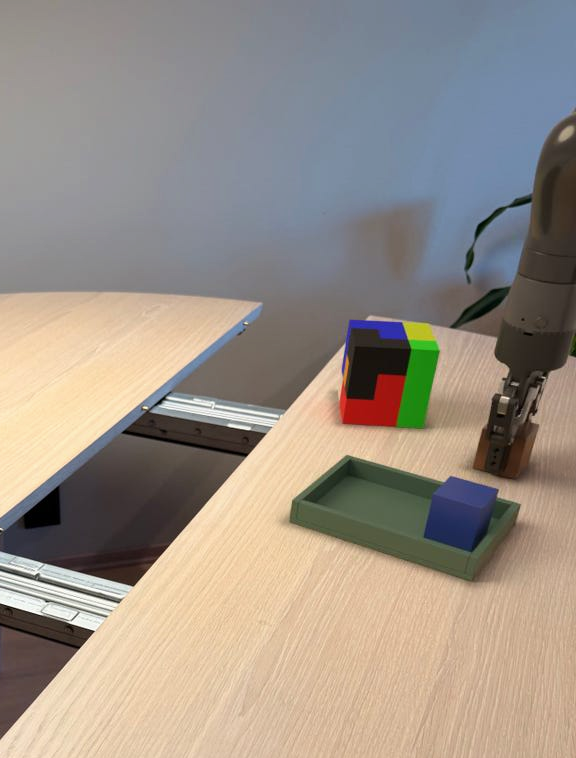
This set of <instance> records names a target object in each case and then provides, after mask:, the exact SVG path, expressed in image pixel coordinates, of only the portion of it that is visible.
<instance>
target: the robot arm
mask: <svg viewBox="0 0 576 758" xmlns="http://www.w3.org/2000/svg"><path fill="white" fill-rule="evenodd" d="M530 204H531V205H530V216H529V224H528V228H527V232H526V235H525V238H524V241H523V245H522V249H521V253H520V256H519V261H518V265H517V268H516V269H517V270H516V272H515V276H514V278H513V281H512V284H511V286H510V288H509V291H508V294H507V295H508V296H507V298H506V302H505V307H504V310H503V314H502V318H501V321H500V326H499V331H498V334H497V338H496V343H495V348H494V350H493V355H494V357H495V359H496V361H498V362H499V363H501V364H504V365H505V366H506V367H507V368H508V372H507V374H506V377H505V376H503V377H502V378H501V380H500V382H499V385H498V388H497V393H496V392H495V393H494V394H493V396H492V397H491V404H490V409H489V415H488V418H487V419H488V420H487V423H488V424H487V423H486V424H487V430H486V434H485V441H490V445H489V449H488V452H487V456H486V460H485V464H484V470H485V471H484V472H486V471H487V473H491V474H493V475H497V476H501V475H500V474H502V473H503V472H504V470H505V467H506V463H507V460H508V456H509V452H510V449H511V445H512V443H513V442H514V437H515V434H516V431H517V429H518V426H520V425H523V424H524V423H525V421H527V422H531V423H533V422H532V421H533V419H532V418H533V417H535V416H536V414H538V410H539V406H540V404H541V403H540V402H541V400H542V396H543V393H544V391H545V388H546V386H547V385H546V384H547V382H548V378H549V376H550V373H551V372H554V371H558V370H559V369H561V368H563V367H564V366H565V365H566V364H567V362H568V359H569V356H570V352H571V349H572V345H573V341H574V339H575V335H576V106H575V107H574V109H573V110H572V112H571V113H570V114H569V115H566V116H565V117H563V118H562V119H560V121H558V122H557V123H556V124H555V125H554V126H553V127H552V128H551V130H550V131H549V132H548V134H547V136H546V137H545V140H544V141H543V144H542V147H541V150H540V153H539V155H538V160H537V164H536V168H535V173H534V180H533V187H532V195H531V203H530ZM499 427H502V428H504V429H505V433H503V432H499V431H498V429H499Z"/></svg>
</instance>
